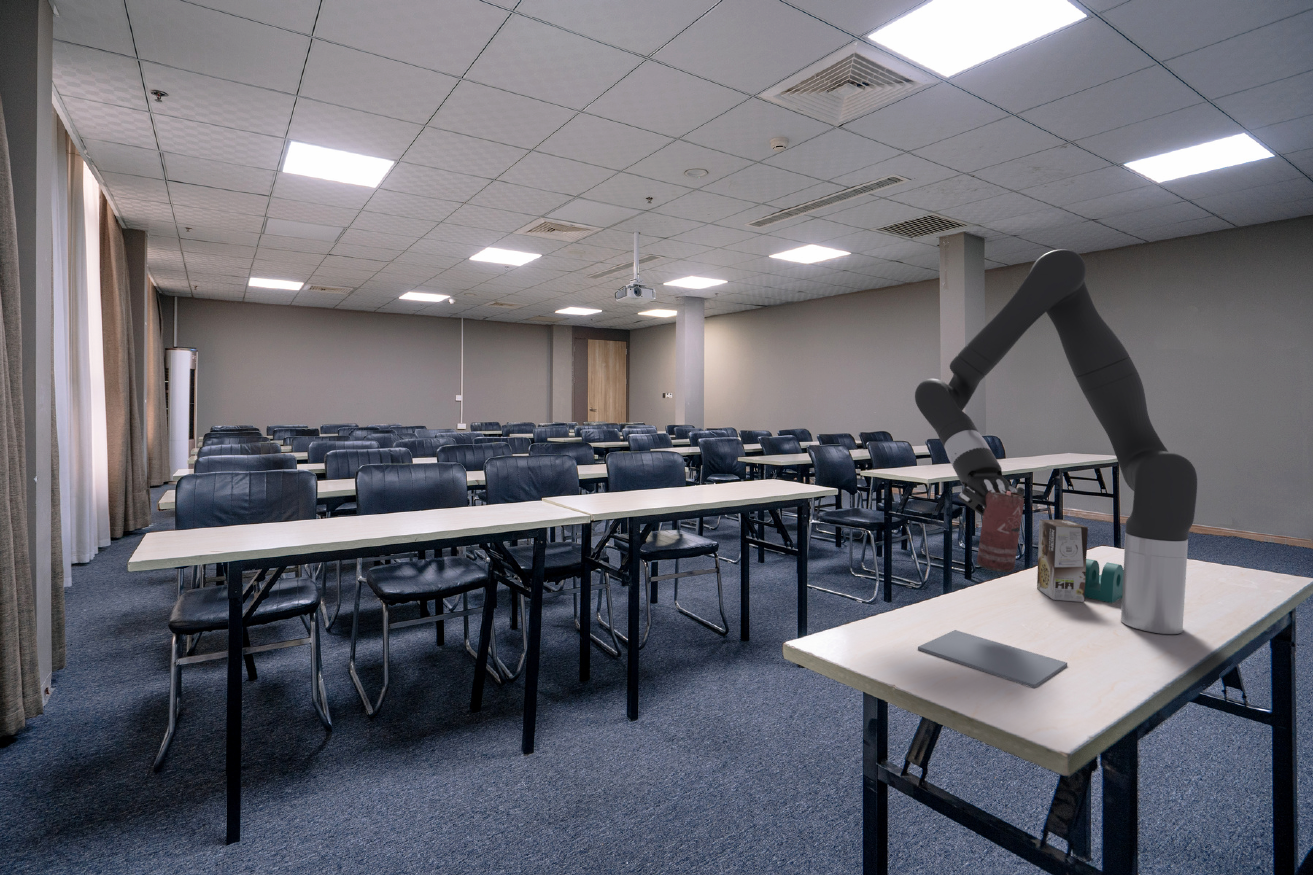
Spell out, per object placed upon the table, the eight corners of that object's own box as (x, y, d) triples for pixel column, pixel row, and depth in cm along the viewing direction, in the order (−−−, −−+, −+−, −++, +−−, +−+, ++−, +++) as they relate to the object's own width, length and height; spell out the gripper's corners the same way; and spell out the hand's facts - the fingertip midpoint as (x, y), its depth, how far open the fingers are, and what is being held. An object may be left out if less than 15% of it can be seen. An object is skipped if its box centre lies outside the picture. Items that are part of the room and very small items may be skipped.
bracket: (1112, 603, 132) (1114, 567, 132) (1075, 595, 137) (1077, 560, 137) (1138, 589, 143) (1140, 555, 143) (1103, 582, 148) (1105, 549, 148)
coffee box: (1085, 602, 132) (1089, 527, 131) (1052, 600, 133) (1055, 525, 132) (1066, 590, 141) (1070, 519, 140) (1035, 588, 142) (1038, 518, 141)
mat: (954, 632, 114) (955, 629, 114) (1067, 665, 100) (1067, 662, 100) (917, 649, 106) (917, 646, 106) (1034, 688, 92) (1034, 684, 92)
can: (1014, 567, 116) (1024, 493, 114) (1013, 575, 110) (1024, 497, 109) (977, 559, 119) (987, 487, 117) (975, 567, 113) (985, 491, 112)
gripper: (949, 446, 119) (990, 522, 107) (1012, 446, 121) (1058, 521, 109) (932, 470, 124) (969, 545, 113) (992, 470, 126) (1035, 544, 115)
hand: (1013, 533), depth 111 cm, fingers closed
